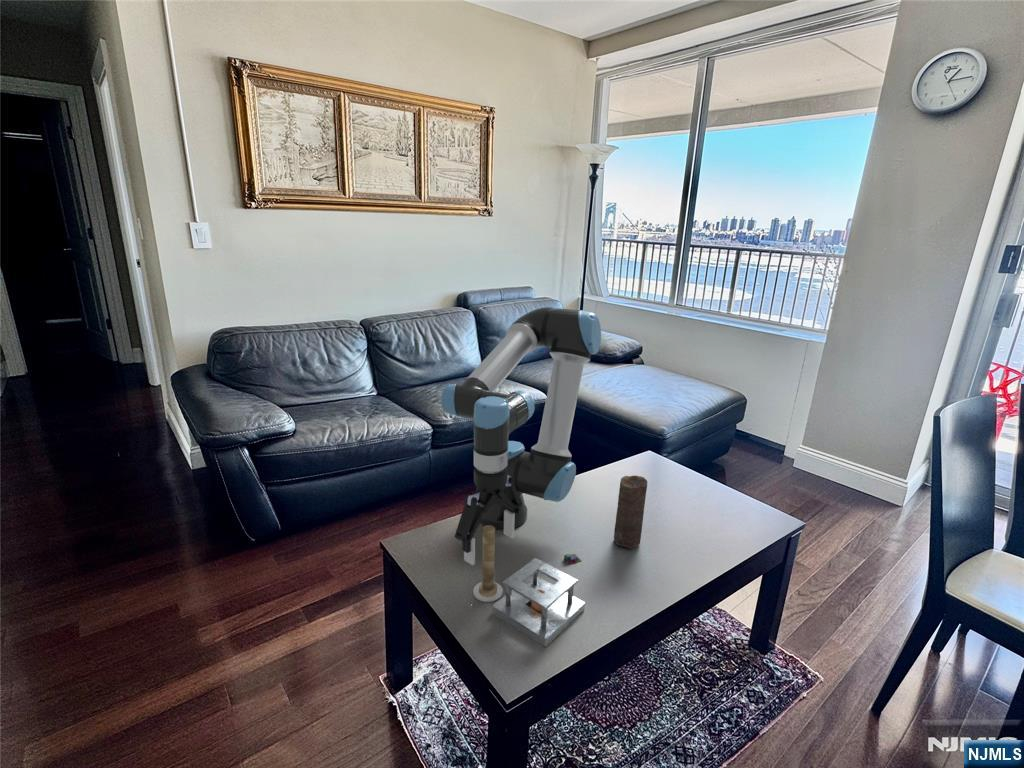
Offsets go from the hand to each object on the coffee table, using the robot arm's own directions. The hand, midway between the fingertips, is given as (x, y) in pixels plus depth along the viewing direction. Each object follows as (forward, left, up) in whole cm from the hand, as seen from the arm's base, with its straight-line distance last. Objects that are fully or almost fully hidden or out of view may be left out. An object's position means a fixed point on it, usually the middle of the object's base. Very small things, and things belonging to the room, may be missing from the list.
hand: (489, 548), depth 121 cm
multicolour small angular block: (+8, +24, -13) cm, 28 cm away
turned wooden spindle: (0, 0, -11) cm, 11 cm away
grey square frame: (+13, +3, -12) cm, 18 cm away
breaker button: (+13, +3, -11) cm, 18 cm away
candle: (+15, +41, -12) cm, 45 cm away
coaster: (0, 0, -12) cm, 12 cm away
